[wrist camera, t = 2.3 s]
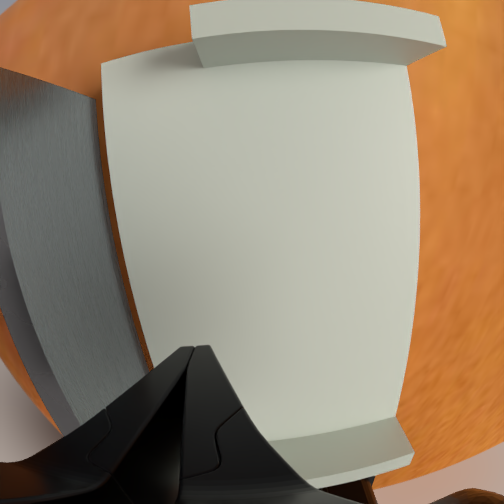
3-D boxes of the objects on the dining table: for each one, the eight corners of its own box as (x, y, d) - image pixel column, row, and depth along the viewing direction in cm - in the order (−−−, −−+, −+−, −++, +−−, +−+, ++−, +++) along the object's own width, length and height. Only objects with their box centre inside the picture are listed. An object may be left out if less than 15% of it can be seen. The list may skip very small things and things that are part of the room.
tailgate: (176, 442, 15) (160, 532, 9) (159, 441, 15) (140, 529, 9) (95, 99, 10) (-5, 66, 4) (74, 106, 10) (-31, 82, 4)
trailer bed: (376, 398, 18) (409, 464, 12) (193, 423, 18) (182, 497, 12) (374, 58, 12) (438, 16, 7) (126, 80, 12) (64, 40, 7)
